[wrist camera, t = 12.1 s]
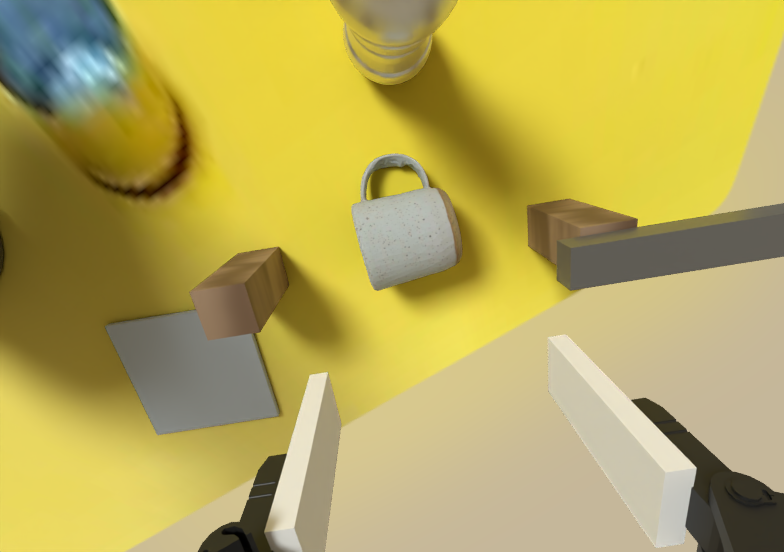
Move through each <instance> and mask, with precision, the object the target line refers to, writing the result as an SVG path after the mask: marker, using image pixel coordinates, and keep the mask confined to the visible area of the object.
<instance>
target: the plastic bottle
mask: <svg viewBox="0 0 784 552" xmlns="http://www.w3.org/2000/svg"><path fill="white" fill-rule="evenodd" d="M330 1H331V3H332V5H333V6H334V8H335V9H336V11H337V13H338V14H339V16H340V17H341V19H342V20H343V21H344V26H343V38H344V44H345V48H346V51H347V54H348V56H349V58H350V60H351V62H352V63H353V65H354V66H355V68H356V69H357V70H358V71H359V72H360V73H361V74H362V75H364V76H365V77H366V78H368V79H370V80H372V81H374V82H376V83H379V84H383V85H395V84H401V83H403V82H406V81H408V80H410V79H411V78H413V77H414V76H415V75H417V73H418V72H419V71H420V70H421V69H422V68H423V66H424V65H425V63H426V61H427V59H428V57H429V54H430V51H431V46H432V33H434V32H435V31H436V30H437V29H438V28H439V27H440V26H441V25H442V23H443V22H444V21H445V20H446V19H447V17H448V16H449V15H450V13H451V11H452V10H453V8H454V7H455V5H456V3H457V1H458V0H330Z"/></svg>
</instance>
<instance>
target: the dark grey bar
mask: <svg viewBox="0 0 784 552" xmlns="http://www.w3.org/2000/svg"><path fill="white" fill-rule="evenodd" d="M782 256H784V203H783V204H777V205H770V206H764V207H758V208H752V209H746V210H741V211H734V212H728V213H722V214H715V215H709V216H703V217H697V218H691V219H685V220H678V221H672V222H666V223H660V224H654V225H648V226H642V227H636V228H629V229H623V230H617V231H611V232H605V233H599V234H593V235H586V236H580V237H574V238H568V239H562V240H557V281H559V282H560V283H561V284H563V285H564V286H565V287H566V288H568V289H569V290H570V291H571V290H577V289H583V288H589V287H595V286H602V285H608V284H614V283H621V282H627V281H633V280H639V279H645V278H652V277H658V276H664V275H671V274H677V273H683V272H689V271H695V270H702V269H708V268H714V267H720V266H727V265H733V264H739V263H746V262H752V261H758V260H764V259H770V258H777V257H782Z"/></svg>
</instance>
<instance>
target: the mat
mask: <svg viewBox="0 0 784 552" xmlns="http://www.w3.org/2000/svg"><path fill="white" fill-rule="evenodd" d="M105 329H106V331H107V333H108V335H109V337H110V339H111V341H112V343H113V345H114V347H115V349H116V351H117V353H118V355H119V357H120V359H121V361H122V363H123V366H124V368H125V370H126V372H127V374H128V376H129V378H130V380H131V382H132V384H133V386H134V388H135V390H136V392H137V394H138V396H139V398H140V400H141V402H142V405H143V407H144V409H145V411H146V413H147V415H148V417H149V419H150V421H151V423H152V425H153V427H154V429H155V431H156V433H157V435H161V434H167V433H173V432H180V431H186V430H193V429H199V428H206V427H212V426H218V425H225V424H231V423H238V422H244V421H250V420H257V419H263V418H270V417H276V416H279V413H280V412H279V409H278V406H277V403H276V400H275V397H274V394H273V391H272V388H271V385H270V382H269V378H268V375H267V372H266V369H265V366H264V363H263V360H262V357H261V354H260V351H259V348H258V345H257V342H256V339H255V336H254V333H252V334H246V335H240V336H233V337H227V338H221V339H215V340H209V341H208V340H207V337H206V334H205V332H204V329H203V327H202V324H201V321H200V319H199V316H198V314H197V311H196V310H190V311H184V312H178V313H172V314H166V315H160V316H154V317H147V318H141V319H135V320H129V321H123V322H117V323H110V324H108V325H106V326H105Z"/></svg>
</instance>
